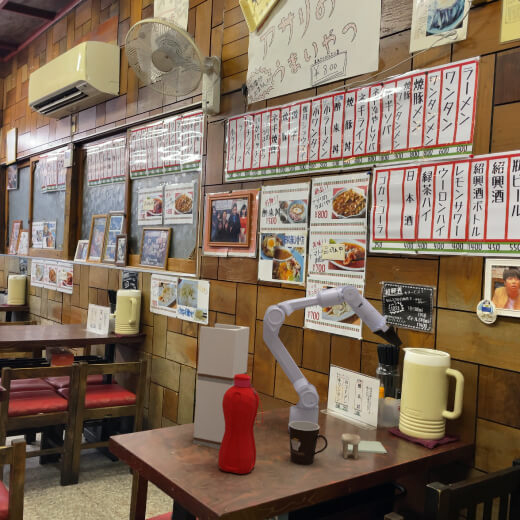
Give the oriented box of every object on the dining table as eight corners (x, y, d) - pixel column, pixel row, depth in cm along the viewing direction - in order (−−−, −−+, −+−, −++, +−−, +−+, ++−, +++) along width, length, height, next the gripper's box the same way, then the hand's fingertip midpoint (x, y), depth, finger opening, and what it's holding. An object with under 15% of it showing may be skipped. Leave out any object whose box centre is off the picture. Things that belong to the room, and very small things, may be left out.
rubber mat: (347, 451, 163) (347, 449, 163) (342, 441, 172) (342, 439, 172) (386, 453, 164) (386, 451, 164) (379, 443, 173) (379, 441, 173)
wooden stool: (342, 459, 156) (343, 438, 156) (339, 453, 162) (340, 432, 162) (360, 460, 156) (361, 439, 156) (356, 454, 162) (358, 434, 162)
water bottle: (254, 478, 139) (260, 380, 139) (214, 471, 141) (220, 375, 142) (264, 466, 147) (269, 374, 148) (226, 459, 150) (231, 369, 150)
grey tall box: (242, 440, 167) (249, 327, 167) (227, 450, 157) (235, 330, 157) (209, 434, 171) (216, 323, 171) (193, 443, 161) (200, 326, 162)
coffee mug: (281, 456, 155) (283, 421, 155) (308, 454, 159) (310, 420, 159) (300, 472, 145) (302, 434, 145) (328, 469, 148) (330, 432, 148)
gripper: (382, 306, 170) (412, 338, 170) (372, 304, 185) (399, 333, 185) (365, 322, 170) (396, 353, 170) (357, 318, 185) (384, 347, 184)
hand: (397, 344), depth 177 cm, fingers open, 7 cm apart
